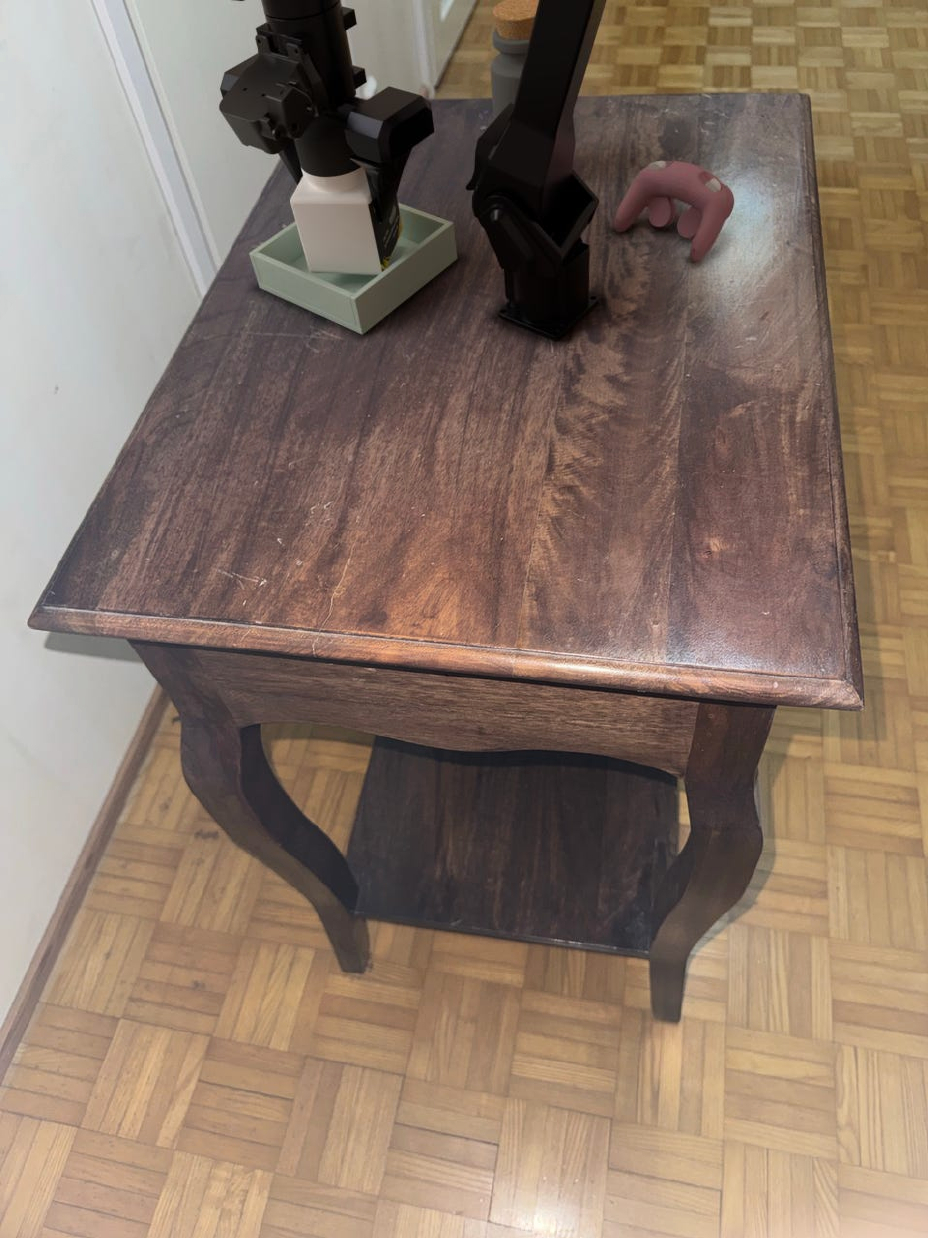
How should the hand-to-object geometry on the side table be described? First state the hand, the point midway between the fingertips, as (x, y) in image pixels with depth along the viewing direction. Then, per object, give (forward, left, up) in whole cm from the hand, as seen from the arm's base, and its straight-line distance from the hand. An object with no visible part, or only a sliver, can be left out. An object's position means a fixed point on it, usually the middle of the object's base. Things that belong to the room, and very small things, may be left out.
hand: (345, 205), depth 79 cm
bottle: (-3, -22, -7) cm, 23 cm away
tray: (0, 0, -7) cm, 7 cm away
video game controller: (-21, -20, -7) cm, 30 cm away
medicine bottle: (0, 0, -5) cm, 5 cm away
